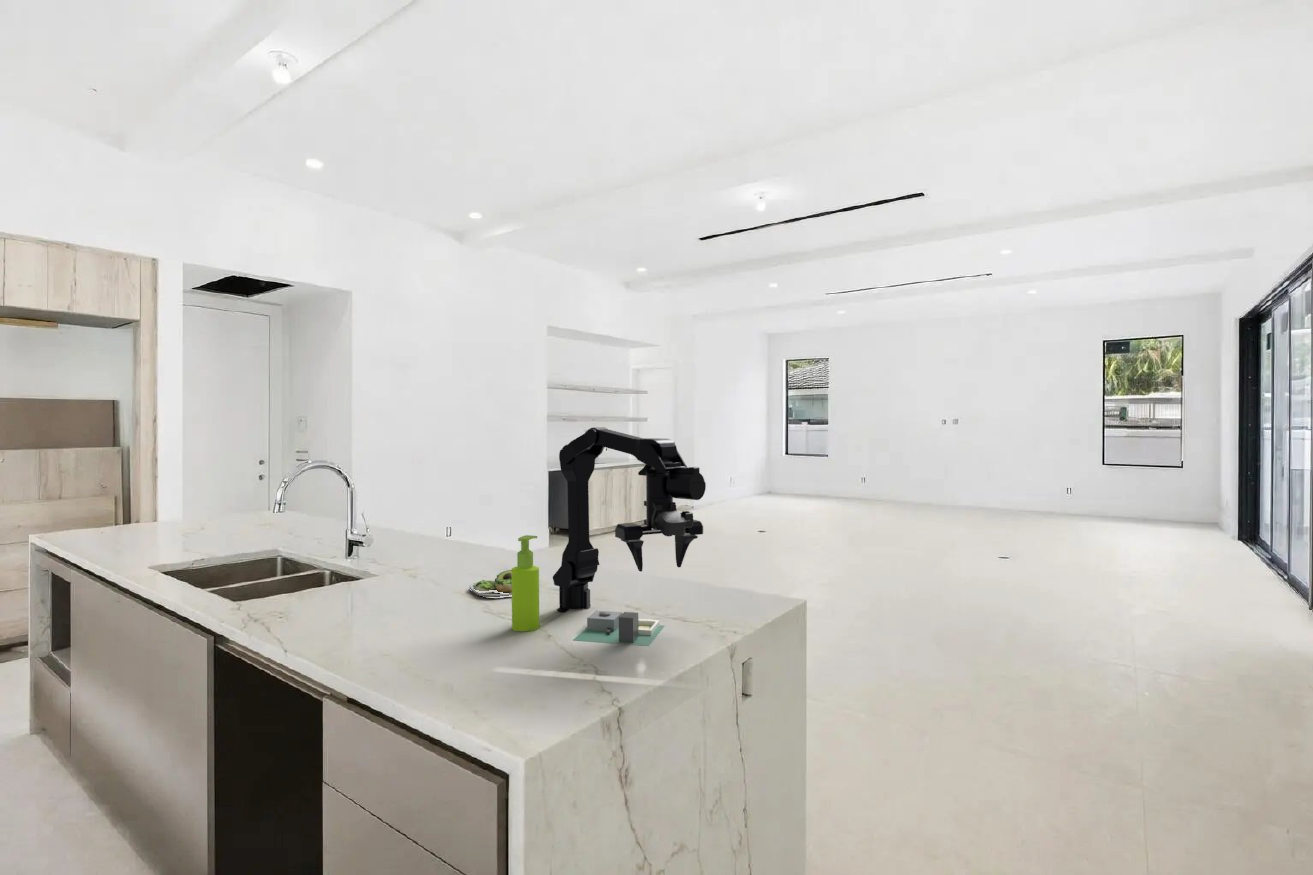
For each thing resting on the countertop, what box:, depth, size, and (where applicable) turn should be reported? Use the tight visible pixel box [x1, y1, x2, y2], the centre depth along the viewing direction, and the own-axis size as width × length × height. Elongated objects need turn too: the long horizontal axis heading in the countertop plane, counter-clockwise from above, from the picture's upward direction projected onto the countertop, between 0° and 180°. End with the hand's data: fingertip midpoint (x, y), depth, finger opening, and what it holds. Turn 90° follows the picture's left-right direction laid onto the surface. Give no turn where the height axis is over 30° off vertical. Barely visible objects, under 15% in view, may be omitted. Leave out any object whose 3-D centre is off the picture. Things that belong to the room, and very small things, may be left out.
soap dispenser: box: [511, 534, 540, 632], centre depth 153 cm, size 6×7×20 cm
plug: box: [619, 611, 639, 643], centre depth 142 cm, size 3×5×5 cm, turn 166°
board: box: [572, 610, 665, 647], centre depth 146 cm, size 16×14×4 cm
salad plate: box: [469, 569, 512, 597], centre depth 186 cm, size 19×18×5 cm
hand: (659, 569), depth 150 cm, fingers open, 9 cm apart
